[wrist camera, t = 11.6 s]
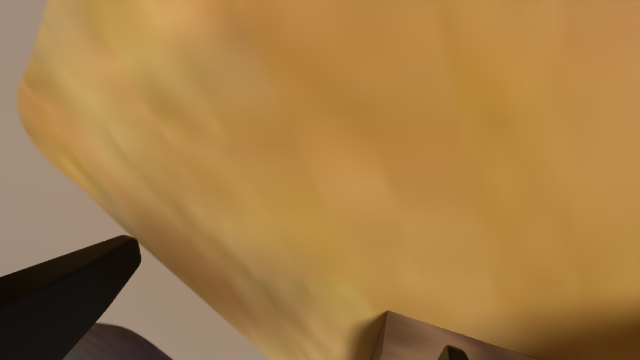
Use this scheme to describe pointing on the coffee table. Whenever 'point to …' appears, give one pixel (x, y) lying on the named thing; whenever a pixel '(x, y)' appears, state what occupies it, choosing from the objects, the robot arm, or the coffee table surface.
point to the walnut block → (430, 342)
